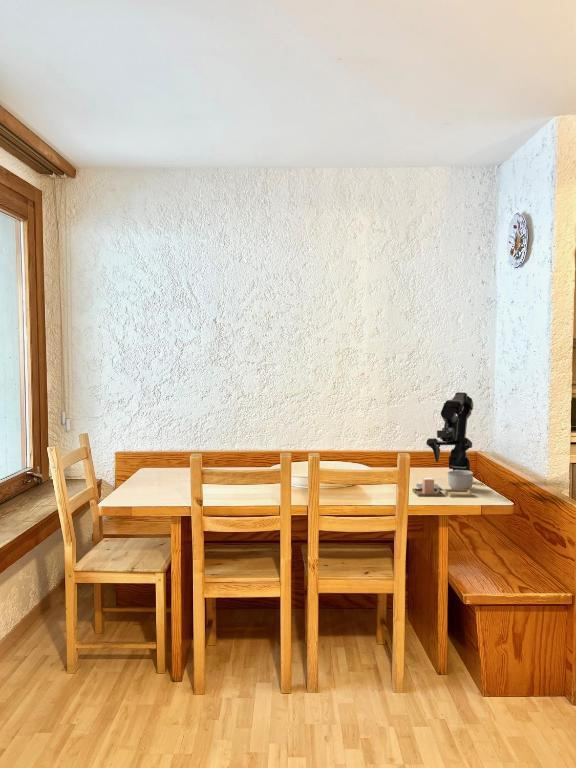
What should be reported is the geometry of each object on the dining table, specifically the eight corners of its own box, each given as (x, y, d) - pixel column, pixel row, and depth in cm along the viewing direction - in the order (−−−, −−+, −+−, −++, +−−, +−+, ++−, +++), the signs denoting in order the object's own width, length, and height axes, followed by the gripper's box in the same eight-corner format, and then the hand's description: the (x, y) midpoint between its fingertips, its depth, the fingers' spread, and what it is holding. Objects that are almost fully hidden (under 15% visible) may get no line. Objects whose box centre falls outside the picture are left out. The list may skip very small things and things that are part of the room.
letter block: (422, 492, 281) (422, 477, 281) (431, 492, 281) (431, 477, 281) (424, 494, 277) (424, 479, 277) (433, 494, 277) (434, 479, 277)
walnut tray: (412, 492, 285) (412, 488, 285) (437, 492, 285) (437, 488, 285) (418, 497, 274) (418, 494, 274) (444, 497, 274) (444, 494, 274)
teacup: (473, 493, 284) (473, 474, 283) (447, 491, 286) (448, 473, 286) (471, 486, 297) (471, 469, 297) (446, 485, 300) (446, 467, 299)
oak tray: (442, 492, 284) (442, 489, 284) (468, 492, 284) (468, 489, 284) (449, 498, 273) (449, 494, 273) (476, 498, 273) (476, 494, 273)
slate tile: (416, 487, 295) (416, 483, 295) (436, 487, 295) (436, 484, 295) (420, 491, 286) (421, 488, 286) (441, 491, 286) (441, 488, 286)
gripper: (422, 421, 286) (418, 456, 280) (463, 420, 274) (459, 455, 269) (434, 430, 294) (429, 464, 288) (474, 429, 282) (470, 464, 276)
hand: (446, 462), depth 280 cm, fingers open, 9 cm apart
